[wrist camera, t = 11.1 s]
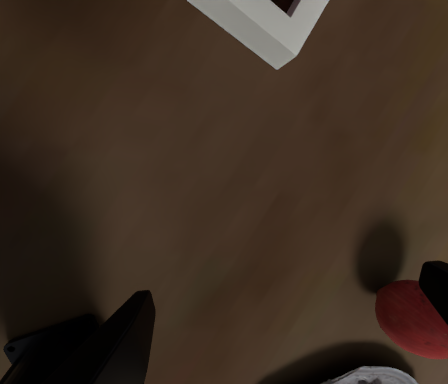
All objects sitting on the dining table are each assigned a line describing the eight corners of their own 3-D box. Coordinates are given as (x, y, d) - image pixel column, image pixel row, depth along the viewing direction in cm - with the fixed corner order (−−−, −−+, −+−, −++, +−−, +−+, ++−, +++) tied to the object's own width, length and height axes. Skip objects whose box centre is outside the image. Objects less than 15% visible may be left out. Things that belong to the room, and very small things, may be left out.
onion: (374, 256, 23) (473, 314, 15) (414, 275, 24) (521, 336, 17) (345, 306, 24) (425, 385, 16) (385, 321, 25) (476, 400, 17)
